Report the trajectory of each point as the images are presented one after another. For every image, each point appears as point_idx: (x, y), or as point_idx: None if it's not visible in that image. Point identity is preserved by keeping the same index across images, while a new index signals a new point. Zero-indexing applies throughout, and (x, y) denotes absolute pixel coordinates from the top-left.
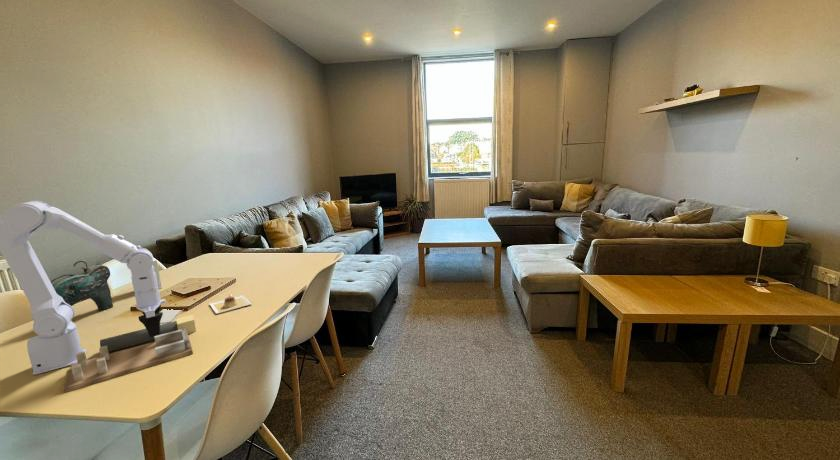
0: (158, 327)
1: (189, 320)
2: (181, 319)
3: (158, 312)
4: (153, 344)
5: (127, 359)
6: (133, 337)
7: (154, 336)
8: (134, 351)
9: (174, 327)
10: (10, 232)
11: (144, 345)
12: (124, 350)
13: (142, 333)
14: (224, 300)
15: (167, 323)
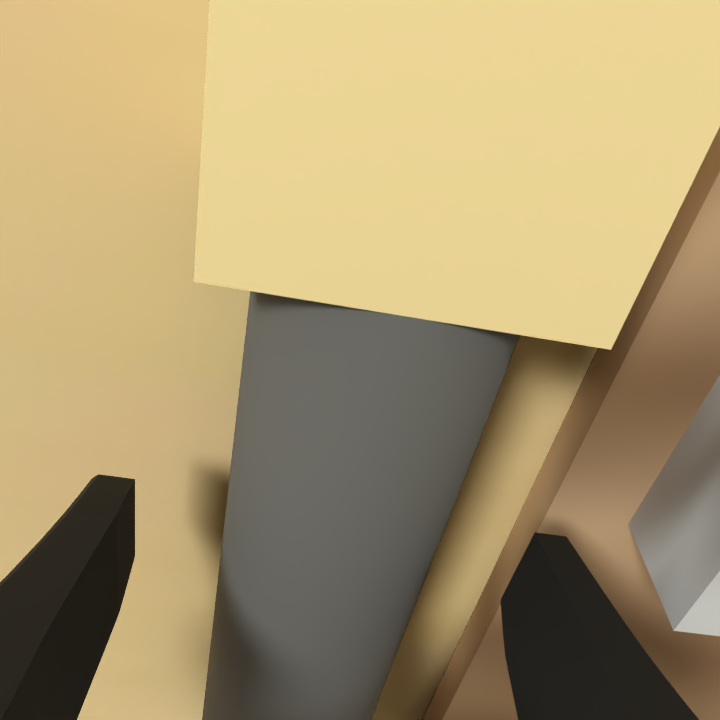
0: (643, 670)
1: (705, 52)
2: (391, 199)
3: (7, 717)
4: (611, 541)
5: (707, 703)
6: (371, 714)
7: (682, 631)
8: None
9: (513, 341)
10: None
11: None
12: (464, 695)
13: (380, 679)
14: None
15: (360, 457)
